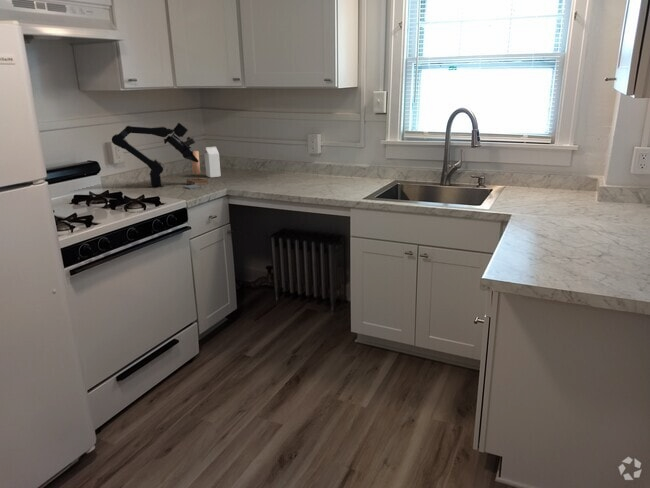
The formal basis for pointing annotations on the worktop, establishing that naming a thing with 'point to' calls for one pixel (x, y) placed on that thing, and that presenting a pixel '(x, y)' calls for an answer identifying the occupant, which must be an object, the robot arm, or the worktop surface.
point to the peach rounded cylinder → (196, 163)
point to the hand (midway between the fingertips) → (198, 161)
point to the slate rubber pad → (192, 186)
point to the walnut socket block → (197, 181)
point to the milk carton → (212, 162)
